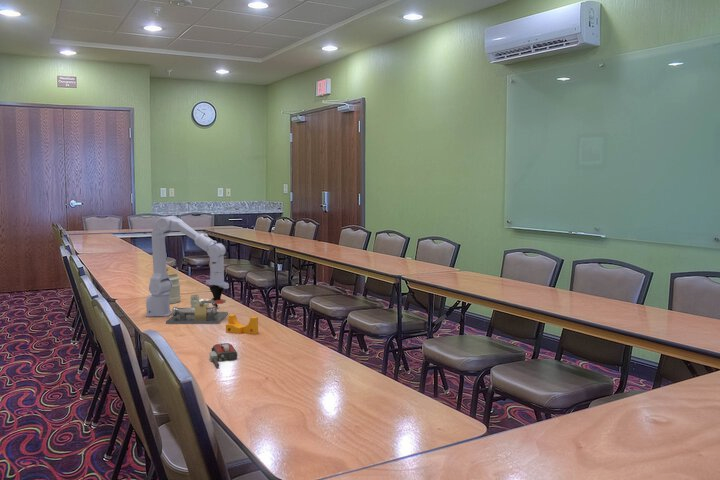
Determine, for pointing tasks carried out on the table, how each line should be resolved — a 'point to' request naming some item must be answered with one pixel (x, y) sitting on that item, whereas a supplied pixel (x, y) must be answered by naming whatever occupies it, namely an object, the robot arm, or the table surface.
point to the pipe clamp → (238, 328)
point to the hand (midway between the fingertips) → (217, 302)
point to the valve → (198, 301)
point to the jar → (174, 286)
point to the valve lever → (213, 301)
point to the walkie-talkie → (222, 353)
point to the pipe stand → (196, 315)
